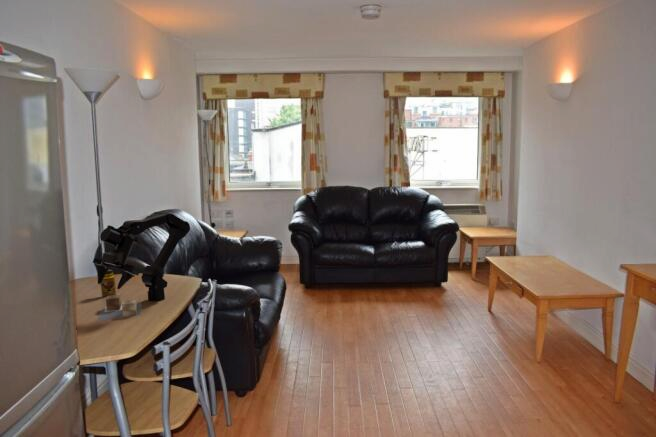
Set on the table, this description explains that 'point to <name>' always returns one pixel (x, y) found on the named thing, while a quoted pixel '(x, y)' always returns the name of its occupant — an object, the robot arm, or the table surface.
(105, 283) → the condiment
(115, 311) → the grey base plate
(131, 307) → the birch block
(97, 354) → the table surface
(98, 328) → the table surface
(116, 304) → the walnut block
